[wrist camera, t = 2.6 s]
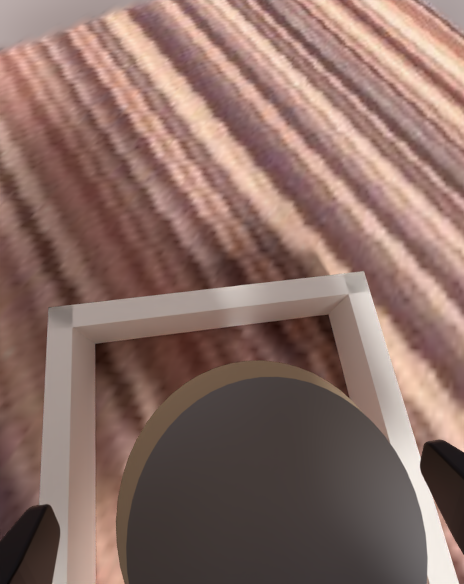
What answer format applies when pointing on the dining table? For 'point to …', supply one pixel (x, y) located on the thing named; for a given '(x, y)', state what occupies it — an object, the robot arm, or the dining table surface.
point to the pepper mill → (266, 487)
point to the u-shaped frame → (194, 317)
